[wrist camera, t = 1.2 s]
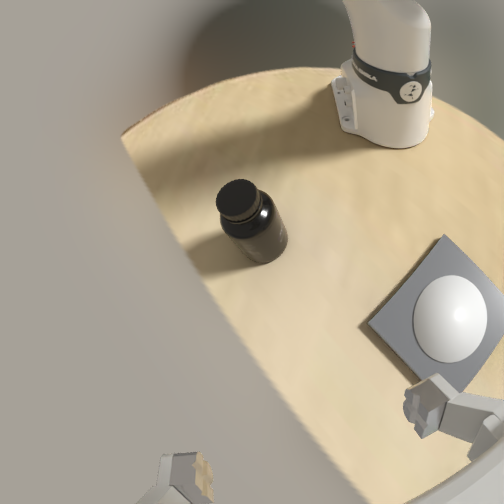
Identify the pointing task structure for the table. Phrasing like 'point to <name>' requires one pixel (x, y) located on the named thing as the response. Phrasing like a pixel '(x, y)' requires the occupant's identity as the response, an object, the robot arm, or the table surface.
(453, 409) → the robot arm
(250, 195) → the supplement bottle
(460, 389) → the charging pad
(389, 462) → the table surface
